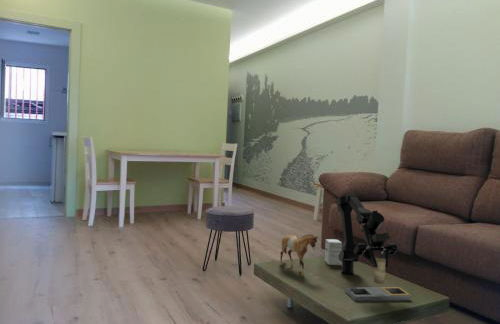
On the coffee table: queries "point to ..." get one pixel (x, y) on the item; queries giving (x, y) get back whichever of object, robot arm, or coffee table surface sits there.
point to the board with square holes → (378, 294)
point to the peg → (380, 271)
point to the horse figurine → (298, 247)
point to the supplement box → (332, 251)
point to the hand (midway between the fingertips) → (381, 266)
